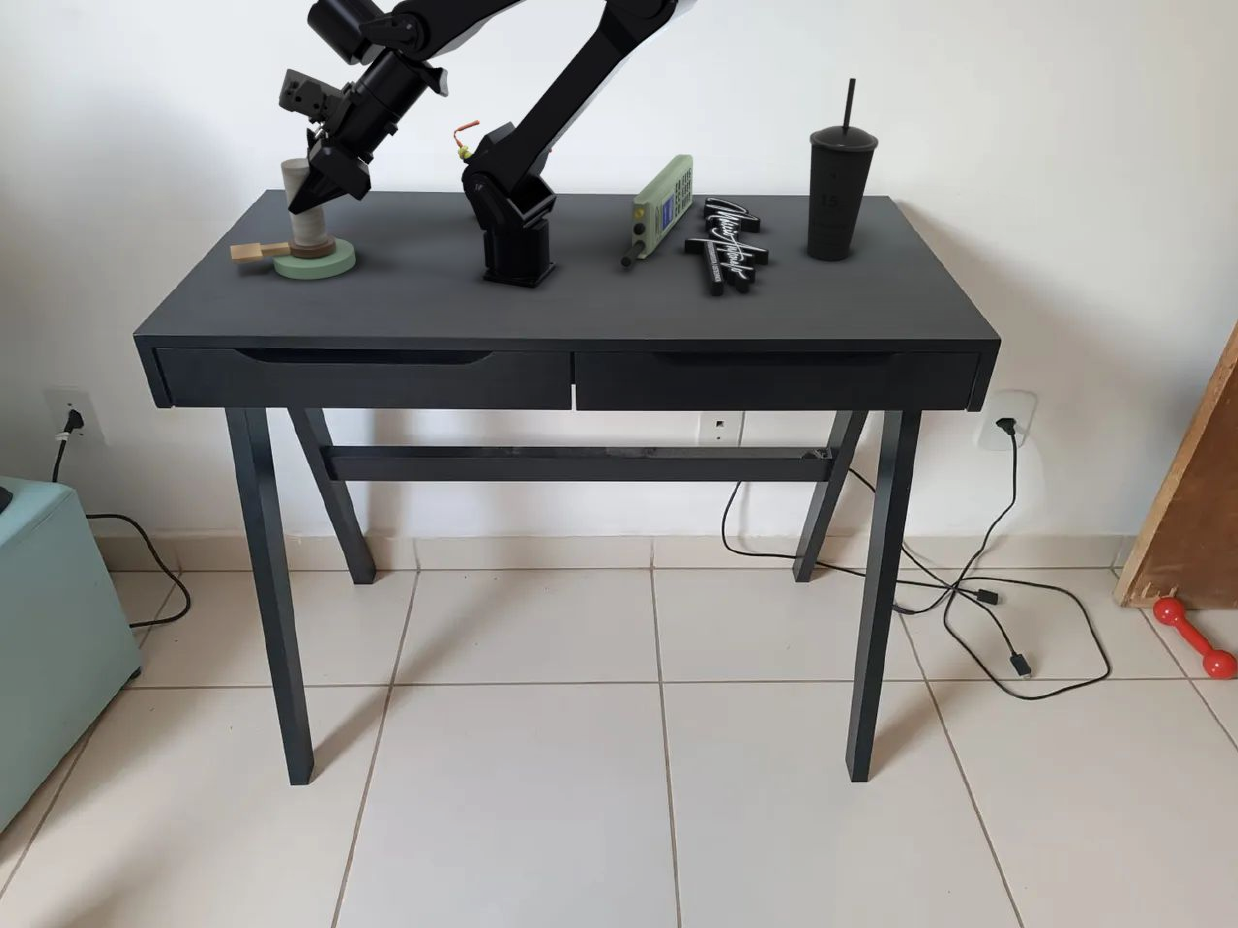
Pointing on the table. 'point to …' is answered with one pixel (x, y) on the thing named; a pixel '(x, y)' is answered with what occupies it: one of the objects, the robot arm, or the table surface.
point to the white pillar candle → (293, 225)
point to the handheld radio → (660, 207)
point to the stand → (316, 263)
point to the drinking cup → (837, 184)
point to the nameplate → (728, 246)
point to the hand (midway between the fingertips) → (291, 206)
